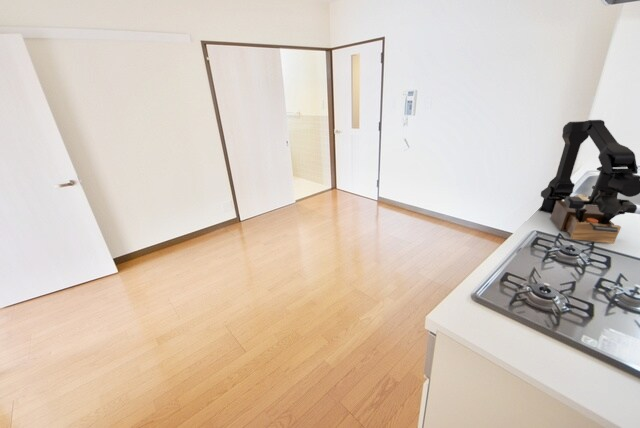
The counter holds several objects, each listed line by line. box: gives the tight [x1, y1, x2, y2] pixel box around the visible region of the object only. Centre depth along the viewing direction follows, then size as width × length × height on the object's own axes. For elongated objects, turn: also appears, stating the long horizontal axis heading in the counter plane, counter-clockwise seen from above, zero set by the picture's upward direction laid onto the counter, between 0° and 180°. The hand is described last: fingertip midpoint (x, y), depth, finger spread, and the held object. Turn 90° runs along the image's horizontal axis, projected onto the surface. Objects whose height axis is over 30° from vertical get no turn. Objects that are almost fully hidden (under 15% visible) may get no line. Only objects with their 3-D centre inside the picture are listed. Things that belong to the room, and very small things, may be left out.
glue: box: [584, 218, 598, 224], centre depth 105 cm, size 4×4×6 cm
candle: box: [572, 193, 589, 201], centre depth 121 cm, size 6×6×10 cm
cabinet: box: [550, 200, 604, 233], centre depth 113 cm, size 12×14×9 cm
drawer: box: [564, 214, 622, 244], centre depth 103 cm, size 15×12×8 cm
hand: (590, 225), depth 105 cm, fingers open, 6 cm apart
